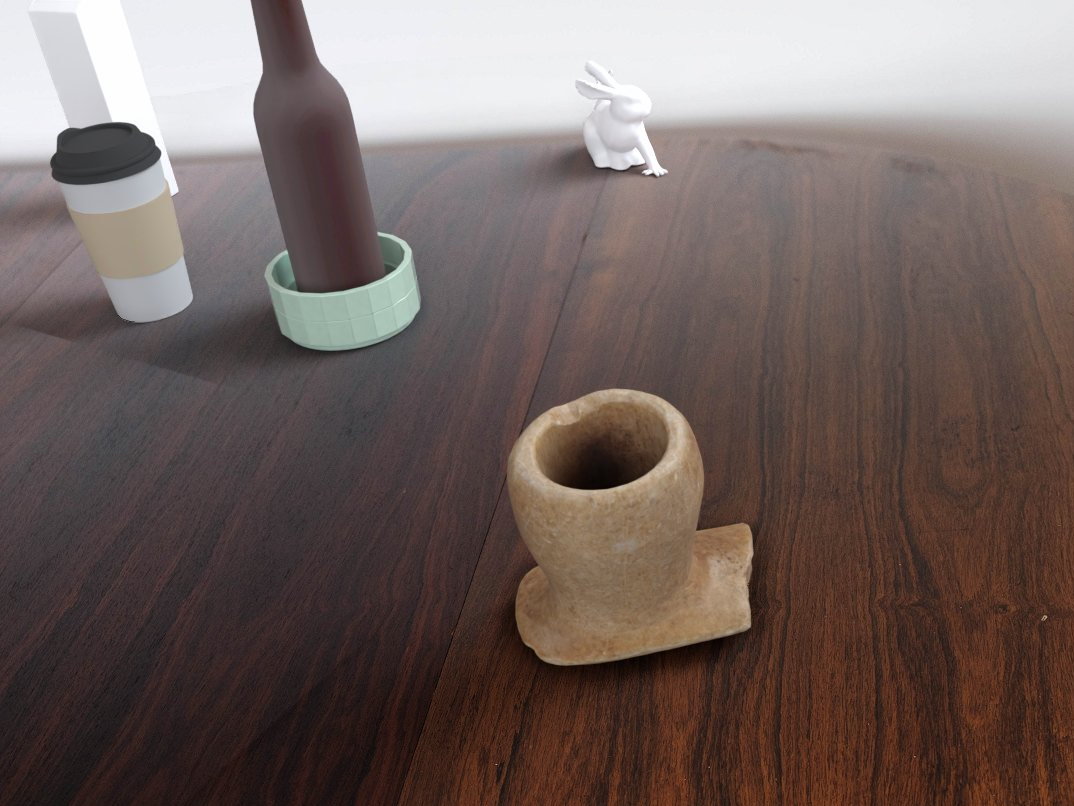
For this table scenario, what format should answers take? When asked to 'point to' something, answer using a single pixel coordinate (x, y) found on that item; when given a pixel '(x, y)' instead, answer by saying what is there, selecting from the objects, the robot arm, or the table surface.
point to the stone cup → (621, 534)
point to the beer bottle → (312, 157)
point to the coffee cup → (124, 217)
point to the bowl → (347, 303)
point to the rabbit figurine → (617, 123)
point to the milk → (96, 67)
